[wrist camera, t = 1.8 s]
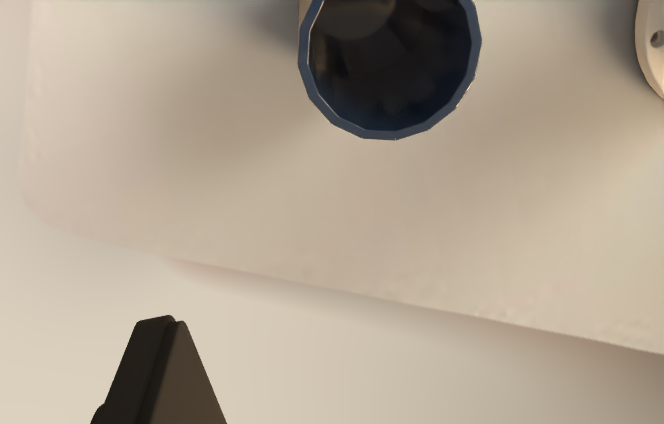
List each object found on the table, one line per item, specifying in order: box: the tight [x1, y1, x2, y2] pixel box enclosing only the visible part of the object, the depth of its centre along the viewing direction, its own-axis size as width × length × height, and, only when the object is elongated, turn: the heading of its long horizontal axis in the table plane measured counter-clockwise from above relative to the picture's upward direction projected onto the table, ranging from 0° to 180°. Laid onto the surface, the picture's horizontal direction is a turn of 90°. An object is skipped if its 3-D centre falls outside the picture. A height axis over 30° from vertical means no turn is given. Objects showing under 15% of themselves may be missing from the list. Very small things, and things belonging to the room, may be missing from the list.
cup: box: [298, 0, 482, 140], centre depth 26 cm, size 7×7×10 cm
